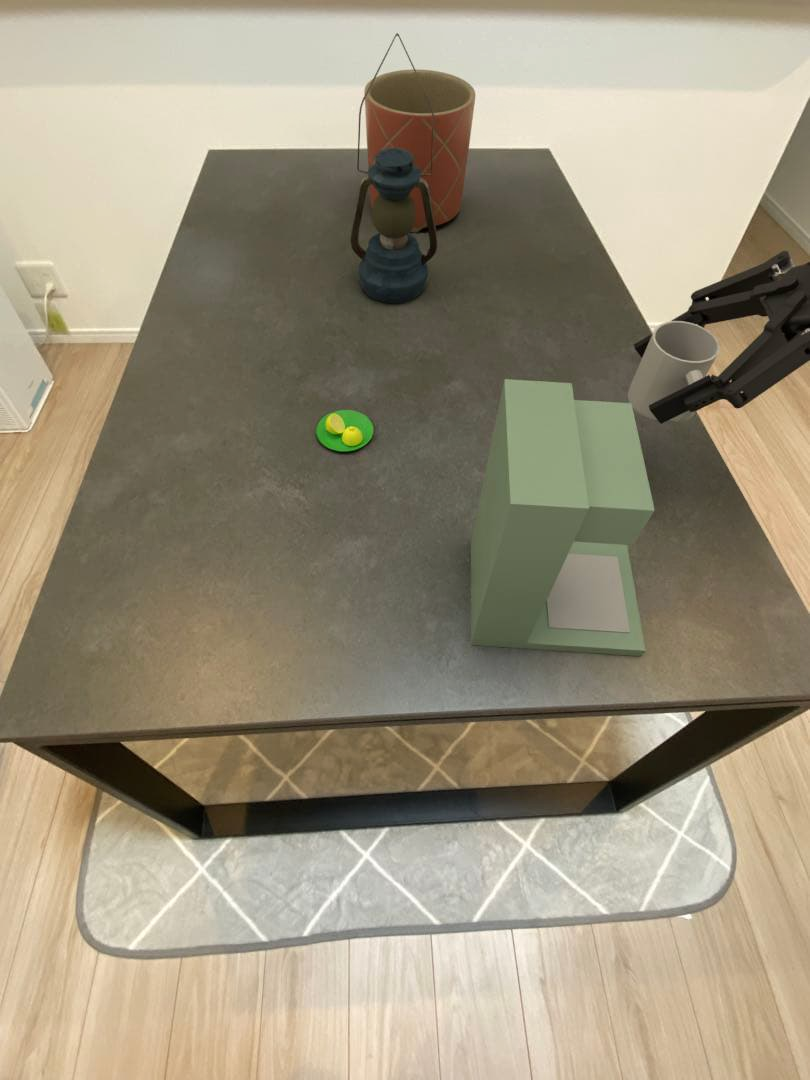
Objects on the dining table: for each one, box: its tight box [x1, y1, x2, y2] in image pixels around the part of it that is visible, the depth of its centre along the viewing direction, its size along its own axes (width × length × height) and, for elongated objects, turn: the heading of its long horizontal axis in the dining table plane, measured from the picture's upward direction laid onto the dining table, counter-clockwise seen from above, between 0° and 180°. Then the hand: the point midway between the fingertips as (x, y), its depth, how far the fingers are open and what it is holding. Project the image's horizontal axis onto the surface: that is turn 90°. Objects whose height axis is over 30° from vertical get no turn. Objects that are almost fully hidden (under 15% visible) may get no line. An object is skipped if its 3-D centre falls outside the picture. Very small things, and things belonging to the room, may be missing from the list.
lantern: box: [350, 33, 438, 304], centre depth 90 cm, size 14×12×35 cm
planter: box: [363, 69, 476, 234], centre depth 111 cm, size 19×19×20 cm
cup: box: [627, 320, 721, 424], centre depth 69 cm, size 7×10×9 cm
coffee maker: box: [470, 378, 656, 657], centre depth 60 cm, size 19×14×26 cm
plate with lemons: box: [315, 409, 374, 452], centre depth 84 cm, size 8×8×3 cm
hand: (646, 382), depth 69 cm, fingers closed on cup, 10 cm apart
